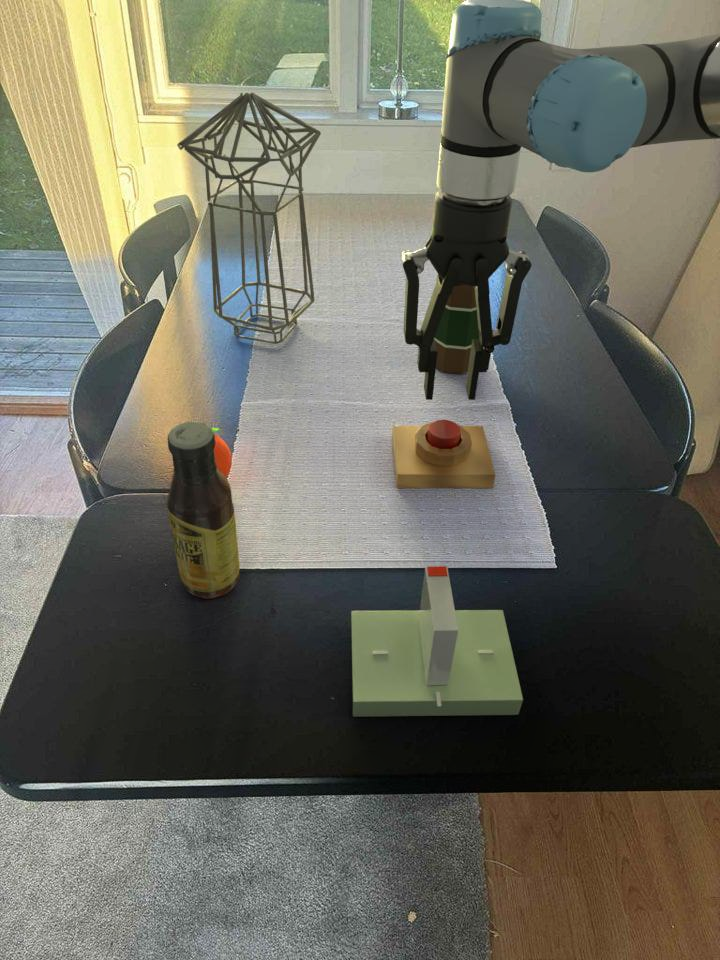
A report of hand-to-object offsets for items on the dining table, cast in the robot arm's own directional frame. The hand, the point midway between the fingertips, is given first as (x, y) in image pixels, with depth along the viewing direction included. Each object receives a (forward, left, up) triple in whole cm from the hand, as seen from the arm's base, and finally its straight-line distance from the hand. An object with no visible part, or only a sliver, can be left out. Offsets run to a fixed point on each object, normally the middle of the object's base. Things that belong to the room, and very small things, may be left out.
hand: (449, 393), depth 83 cm
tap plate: (-20, +24, -11) cm, 33 cm away
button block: (0, 0, -11) cm, 11 cm away
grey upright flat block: (-20, +24, -8) cm, 32 cm away
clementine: (+17, +24, -11) cm, 31 cm away
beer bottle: (+15, -20, -11) cm, 27 cm away
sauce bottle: (+3, +33, -11) cm, 35 cm away
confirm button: (0, 0, -7) cm, 7 cm away
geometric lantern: (+42, -4, -11) cm, 44 cm away
